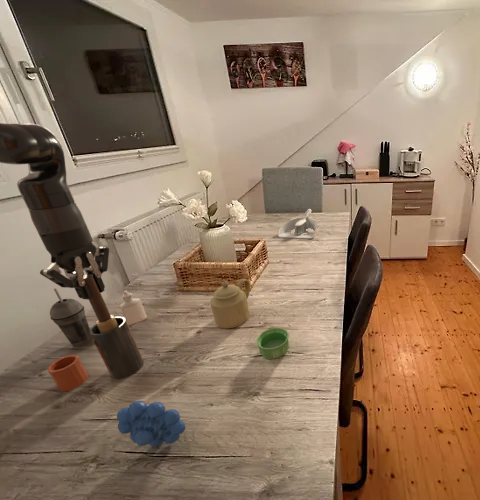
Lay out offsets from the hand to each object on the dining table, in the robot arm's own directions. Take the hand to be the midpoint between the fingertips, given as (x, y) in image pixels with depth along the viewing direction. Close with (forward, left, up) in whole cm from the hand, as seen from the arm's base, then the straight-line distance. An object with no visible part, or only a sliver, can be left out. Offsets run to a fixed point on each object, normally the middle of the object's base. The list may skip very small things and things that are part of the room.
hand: (93, 294), depth 67 cm
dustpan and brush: (+108, +46, -24) cm, 120 cm away
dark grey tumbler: (0, 0, -24) cm, 24 cm away
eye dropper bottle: (+9, +23, -24) cm, 35 cm away
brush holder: (-10, +6, -24) cm, 27 cm away
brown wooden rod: (0, 0, -14) cm, 14 cm away
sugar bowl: (+31, -1, -24) cm, 39 cm away
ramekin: (+29, -26, -24) cm, 46 cm away
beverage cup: (-5, +24, -24) cm, 34 cm away
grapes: (-3, -29, -24) cm, 38 cm away
